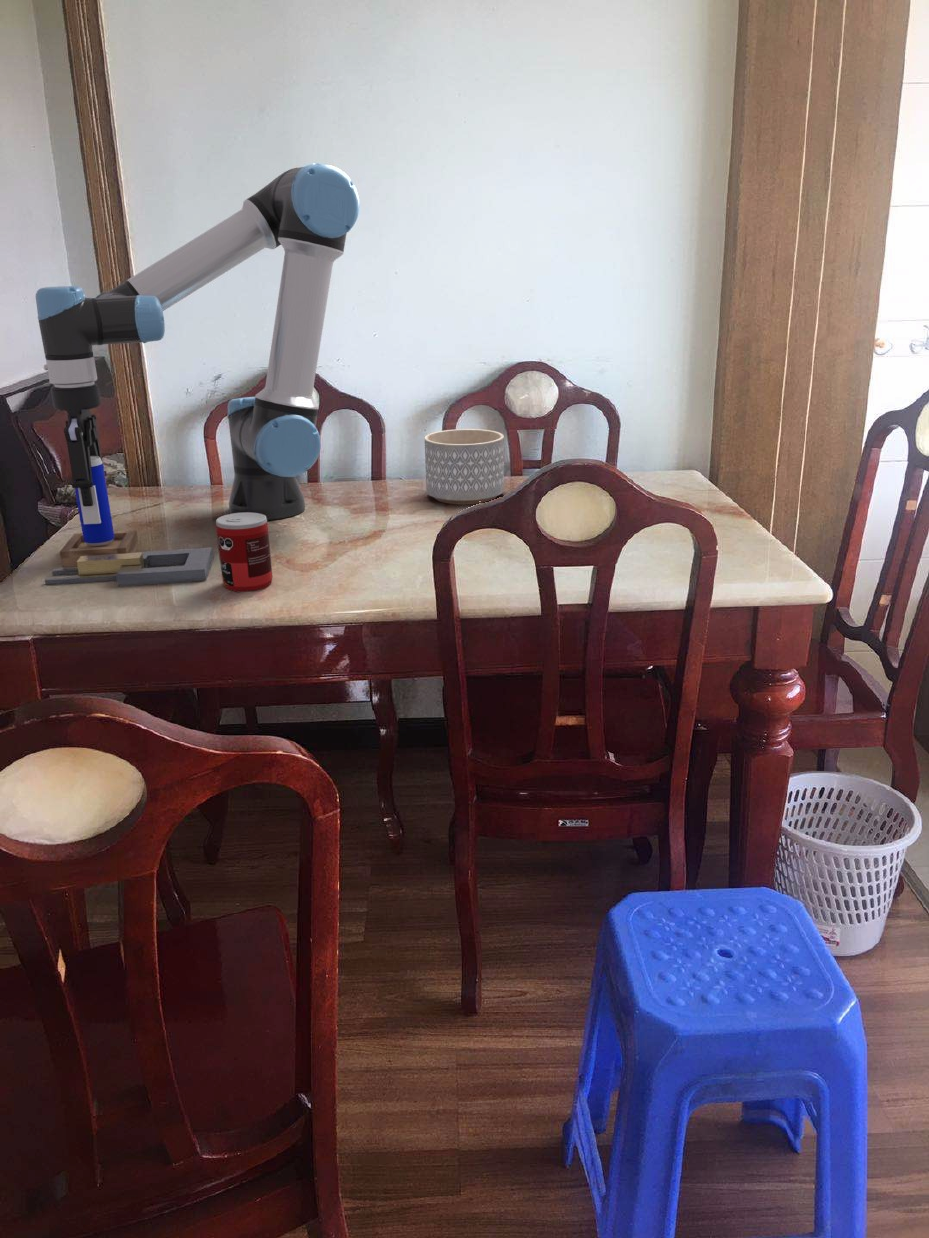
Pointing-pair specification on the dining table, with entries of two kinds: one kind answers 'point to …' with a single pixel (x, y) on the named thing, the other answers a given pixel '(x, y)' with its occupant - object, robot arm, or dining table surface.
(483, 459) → the planter
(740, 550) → the dining table surface
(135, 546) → the tray
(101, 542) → the beverage can
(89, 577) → the socket plate
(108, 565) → the bar
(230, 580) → the canned food
